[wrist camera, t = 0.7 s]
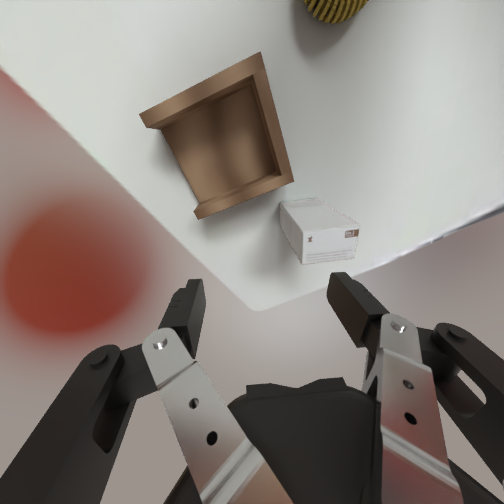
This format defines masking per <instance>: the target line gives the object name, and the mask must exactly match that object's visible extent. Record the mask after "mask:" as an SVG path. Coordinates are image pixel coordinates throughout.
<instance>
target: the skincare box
mask: <svg viewBox="0 0 504 504" xmlns="http://www.w3.org/2000/svg"><path fill="white" fill-rule="evenodd" d="M280 224H281V227H282V229H283V231H284V233H285V235H286V237H287V239H288V240H289V242H290V244H291V246H292V248H293V250H294V252H295V254H296V255H297V257H298V259H299V261H300V263H301V264H302V265H305V264H313V263H320V262H328V261H337V260H345V259H353V258H354V256H355V250H356V245H357V239H358V234H359V228H360V224H358V223H356V222H355V221H353V220H352V219H350V218H349V217H347V216H345V215H344V214H342V213H340V212H339V211H337V210H336V209H334V208H332V207H331V206H329V205H328V204H326V203H324V202H323V201H321V200H320V199H318V198H312V199H303V200H295V201H286V202H280Z"/></svg>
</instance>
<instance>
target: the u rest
mask: <svg viewBox="0 0 504 504" xmlns="http://www.w3.org/2000/svg"><path fill="white" fill-rule="evenodd" d="M139 115H140V117H141V119H142V121H143V123H144V124H145V126H146V128H152V129H158V130H161V131H162V133H163V135H164V137H165V139H166V141H167V142H168V144H169V146H170V148H171V150H172V152H173V154H174V156H175V157H176V159H177V161H178V163H179V165H180V167H181V169H182V171H183V172H184V174H185V176H186V178H187V180H188V182H189V184H190V186H191V188H192V189H193V191H194V193H195V195H196V197H197V199H198V201H199V205H198V206H197V207H196V209H195V210H194V213H195V215H196V217H197V219H198V220H199V219H202V218H204V217H207V216H209V215H212V214H214V213H217V212H219V211H222V210H224V209H227V208H229V207H232V206H234V205H237V204H239V203H242V202H244V201H247V200H249V199H252V198H254V197H257V196H259V195H261V194H264V193H266V192H269V191H271V190H274V189H276V188H279V187H281V186H284V185H286V184H289V183H291V182H294V179H293V175H292V171H291V167H290V163H289V159H288V155H287V152H286V148H285V144H284V140H283V136H282V132H281V128H280V125H279V121H278V117H277V113H276V109H275V105H274V101H273V98H272V94H271V90H270V86H269V82H268V78H267V74H266V70H265V67H264V63H263V59H262V55H261V51H260V52H258V53H256V54H254V55H252V56H250V57H249V58H247V59H245V60H243V61H241V62H239V63H237V64H235V65H233V66H231V67H229V68H227V69H225V70H223V71H221V72H220V73H218V74H216V75H214V76H212V77H210V78H208V79H206V80H204V81H202V82H200V83H198V84H196V85H194V86H193V87H191V88H189V89H187V90H185V91H183V92H181V93H179V94H177V95H175V96H173V97H171V98H169V99H167V100H166V101H164V102H162V103H160V104H158V105H156V106H154V107H152V108H150V109H148V110H146V111H144V112H142V113H140V114H139Z"/></svg>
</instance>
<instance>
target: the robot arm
mask: <svg viewBox="0 0 504 504" xmlns="http://www.w3.org/2000/svg"><path fill="white" fill-rule="evenodd" d="M327 299H328V302H329V304H330V305H331V307H332V308H333V310H334V312H335V313H336V315H337V316H338V318H339V320H340V321H341V323H342V324H343V326H344V327H345V329H346V330H347V332H348V334H349V336H350V337H351V339H352V340H353V342H354V343H355V345H356V347H357V348H360V347H366V348H367V349H368V352H367V355H366V363H365V371H364V379H363V386H362V390H361V391H360V390H357V389H355V388H352V387H349V386H347V385H346V383H345V381H344V379H343V378H342V377H340V378H328V379H319V380H316V381H314V382H312V383H309V384H307V385H304V386H302V387H300V388H292V387H287V386H282V385H277V384H272V383H269V384H256V385H247V386H246V391H247V393H246V394H244V395H241V396H240V397H238V398H236V399H235V400H233V401H232V402H231V403H230V404H229V405H228V406H226V404H225V403H224V401H223V399H222V398H221V396H220V395H219V393H218V392H217V390H216V389H215V387H214V386H213V384H212V382H211V381H210V379H209V378H208V376H207V375H206V373H205V372H204V370H203V369H202V367H201V365H200V364H199V363H198V362H197V361H195V362H194V360H193V359H195V356H196V351H197V347H198V342H199V337H200V332H201V327H202V322H203V317H204V312H205V307H206V300H205V293H204V287H203V281H202V279H189V280H188V282H187V285H186V288H180V289H179V290H178V291H177V292H175V293H174V295H173V297H172V299H171V302H170V303H169V306H168V308H167V310H166V312H165V315H164V317H163V319H162V321H161V323H160V325H159V328H158V330H156V331H154V332H152V333H151V334H149V335H148V336H147V338H146V339H145V340H144V342H143V343H142V344H140V345H137V346H134V347H131V348H128V349H125V350H122V351H121V350H120V349H119V347H118V346H116V345H105V346H102V347H100V348H97V349H95V350H94V351H92V352H91V353H89V354H88V355H87V356H86V357H85V358H84V359H83V360H82V361H81V362H80V364H79V365H78V367H77V368H76V370H75V371H74V373H73V374H72V375H71V377H70V378H69V380H68V381H67V383H66V384H65V386H64V387H63V389H62V390H61V391H60V393H59V394H58V396H57V397H56V399H55V400H54V402H53V403H52V404H51V406H50V407H49V409H48V410H47V412H46V413H45V415H44V416H43V418H42V419H41V420H40V422H39V423H38V425H37V426H36V428H35V429H34V431H33V432H32V433H31V435H30V436H29V438H28V439H27V441H26V442H25V444H24V445H23V446H22V448H21V449H20V451H19V452H18V454H17V455H16V457H15V458H14V459H13V461H12V463H11V464H10V465H9V467H8V468H7V470H6V471H5V473H4V474H3V475H2V477H1V478H0V504H100V501H101V499H102V496H103V493H104V490H105V487H106V485H107V482H108V479H109V476H110V473H111V470H112V467H113V465H114V462H115V459H116V456H117V454H118V451H119V448H120V445H121V442H122V439H123V437H124V434H125V431H126V428H127V425H128V423H129V419H130V417H131V414H132V411H133V409H134V405H135V403H136V400H137V399H138V398H141V397H143V396H145V395H148V394H150V393H153V392H155V391H157V390H158V391H159V394H160V397H161V399H162V402H163V404H164V407H165V409H166V412H167V414H168V417H169V420H170V422H171V424H172V426H173V429H174V432H175V435H176V437H177V440H178V442H179V445H180V447H181V450H182V452H183V455H184V457H185V460H186V462H187V467H186V469H185V470H184V472H183V474H182V475H181V477H180V478H179V480H178V481H177V483H176V484H175V486H174V488H173V489H172V491H171V492H170V494H169V496H168V497H167V499H166V500H165V502H164V504H504V503H503V502H502V501H501V500H499V499H498V498H497V497H496V496H494V495H493V494H492V493H491V492H489V491H488V490H487V489H486V488H484V487H483V486H482V485H481V484H479V483H478V482H477V481H476V480H475V479H473V478H472V477H471V476H470V475H468V474H467V473H466V472H465V471H463V470H462V469H461V468H460V467H458V466H457V465H456V464H455V463H453V462H452V461H451V460H450V459H449V458H448V457H447V451H446V446H445V440H444V435H443V429H442V424H441V418H440V413H439V407H438V402H439V403H440V404H441V406H442V407H443V408H444V410H445V411H446V412H447V413H448V415H449V416H450V417H451V419H452V420H453V421H454V423H455V424H456V425H457V426H458V428H459V429H460V431H461V432H462V433H463V434H464V436H465V437H466V438H467V440H468V441H469V442H470V444H471V445H472V446H473V448H474V449H475V450H476V451H477V453H478V454H479V455H480V457H481V458H482V459H483V461H484V462H485V463H486V465H487V466H488V467H489V468H490V470H491V471H492V472H493V474H494V475H495V476H496V478H497V479H498V480H499V482H500V483H501V484H502V486H503V489H504V360H503V359H502V358H500V357H499V356H498V355H497V354H495V353H494V352H493V351H492V350H490V349H489V348H488V347H487V346H485V345H484V344H483V343H482V342H481V341H479V340H478V339H477V338H476V337H474V336H473V335H472V334H471V333H469V332H468V331H466V330H464V329H462V328H460V327H458V326H455V325H453V324H449V323H439V324H437V325H436V327H435V329H434V330H430V329H424V328H418V327H416V326H415V325H414V324H413V323H412V322H410V321H409V320H407V319H406V318H404V317H402V316H399V315H396V314H390V313H389V311H387V309H386V308H385V307H384V306H383V305H382V304H381V303H380V302H379V301H378V300H377V299H376V298H375V297H373V295H372V294H371V293H370V292H368V290H367V289H366V288H365V287H364V286H363V285H362V284H361V283H359V282H357V281H356V280H352V279H351V278H350V276H349V275H348V274H347V273H346V272H334V273H331V275H330V280H329V284H328V289H327ZM461 369H462V370H463V371H464V372H465V373H466V374H467V375H468V376H469V377H470V378H471V379H472V380H473V381H474V382H475V383H476V384H477V386H479V388H481V390H482V391H483V393H484V394H485V397H486V404H484V403H483V402H482V401H481V400H480V399H479V398H478V397H477V396H476V395H475V394H474V393H473V392H472V391H471V390H470V389H469V387H468V386H467V385H466V384H465V383H464V382H463V381H462V380H461V379H460V378H459V377H458V376H457V374H458V373H459V371H460V370H461ZM437 400H438V402H437Z"/></svg>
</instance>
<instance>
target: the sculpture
mask: <svg viewBox="0 0 504 504" xmlns="http://www.w3.org/2000/svg"><path fill="white" fill-rule="evenodd" d="M344 1H345V2H344ZM367 1H369V0H319V2H318V0H304V3H305V5H308V4H309V3H310V2H311V3H310V5H309V7H308V10H309V12H311V10H312V9H313V8H314V6H315V5H316V3H317V2H318V4H317V6H316V8H315V10H314V13H313V16H314V17H316V15H317V13H318V12H319V15H318V20H320V21H321V20H322V19H323V22H324V23H328V22H329V23H335V22H336V23H340V22H342V21H344V20H347V19H349V18H350V17H352V16H354V15H355V14H356V13H357V12H358V11H360V10H361V9H362V8H363V7H364V6H365V4H366V3H367ZM325 4H326V5H325ZM336 7H337V8H336ZM328 8H329V11H328ZM349 8H350V9H349ZM319 10H320V11H319ZM327 15H328V16H327ZM332 16H333V17H332Z"/></svg>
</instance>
